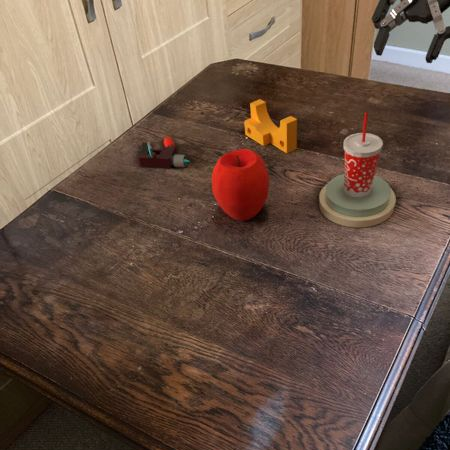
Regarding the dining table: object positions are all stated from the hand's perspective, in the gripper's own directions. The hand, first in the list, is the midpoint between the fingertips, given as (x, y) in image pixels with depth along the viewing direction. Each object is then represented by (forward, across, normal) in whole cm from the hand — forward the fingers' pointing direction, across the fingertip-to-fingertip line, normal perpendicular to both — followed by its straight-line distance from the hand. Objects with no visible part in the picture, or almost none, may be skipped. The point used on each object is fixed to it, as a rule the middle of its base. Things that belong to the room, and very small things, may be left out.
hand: (402, 57), depth 81 cm
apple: (+33, +15, +5) cm, 37 cm away
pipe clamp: (+16, +24, -11) cm, 31 cm away
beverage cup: (+22, -1, -1) cm, 22 cm away
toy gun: (+27, +40, 0) cm, 48 cm away
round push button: (+24, -1, -3) cm, 25 cm away
